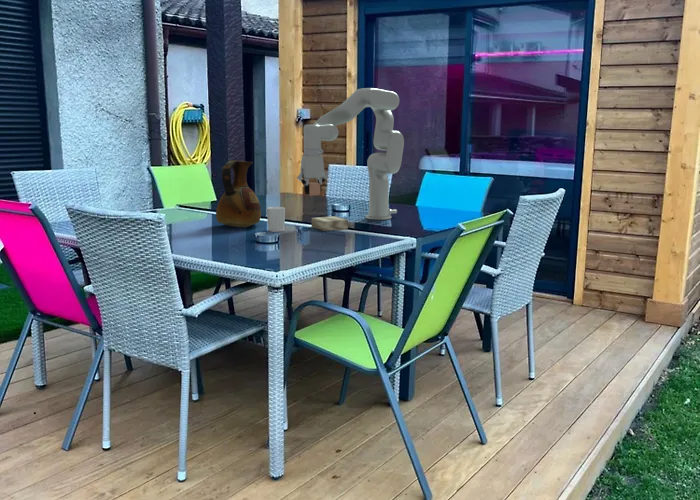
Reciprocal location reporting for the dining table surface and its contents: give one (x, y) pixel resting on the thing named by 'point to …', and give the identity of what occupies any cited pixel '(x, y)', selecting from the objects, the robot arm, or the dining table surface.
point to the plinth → (329, 223)
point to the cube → (314, 189)
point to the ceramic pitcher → (237, 197)
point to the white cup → (276, 218)
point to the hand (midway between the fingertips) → (313, 193)
